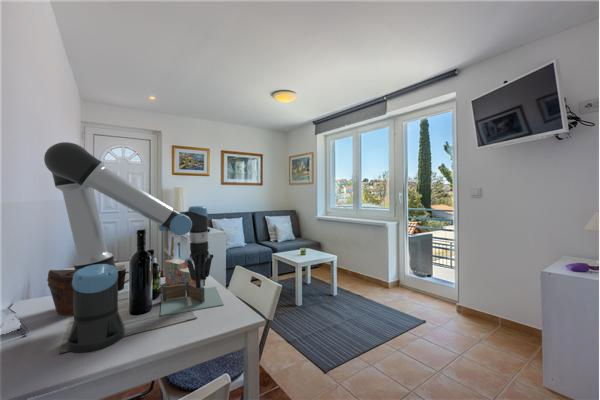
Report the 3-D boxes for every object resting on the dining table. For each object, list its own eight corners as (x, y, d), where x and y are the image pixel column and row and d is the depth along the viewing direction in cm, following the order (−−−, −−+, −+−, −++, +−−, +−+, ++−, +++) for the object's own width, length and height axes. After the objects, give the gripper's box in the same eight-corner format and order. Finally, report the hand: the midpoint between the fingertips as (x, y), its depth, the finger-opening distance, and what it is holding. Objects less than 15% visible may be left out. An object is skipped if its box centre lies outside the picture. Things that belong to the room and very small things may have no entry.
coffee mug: (101, 290, 135) (101, 270, 134) (119, 285, 142) (119, 266, 142) (116, 294, 130) (115, 273, 129) (134, 288, 137) (133, 268, 137)
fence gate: (201, 302, 118) (201, 288, 117) (188, 296, 124) (188, 283, 124) (204, 301, 119) (204, 288, 118) (191, 295, 125) (191, 282, 125)
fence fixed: (190, 297, 125) (190, 282, 125) (162, 301, 120) (162, 285, 120) (190, 296, 127) (190, 280, 126) (162, 300, 122) (162, 284, 122)
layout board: (223, 305, 117) (223, 304, 117) (160, 316, 106) (160, 315, 106) (215, 287, 138) (215, 286, 138) (162, 295, 128) (162, 294, 128)
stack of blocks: (200, 287, 138) (199, 263, 138) (189, 291, 133) (188, 266, 133) (175, 280, 151) (175, 258, 150) (164, 283, 145) (164, 260, 145)
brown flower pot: (117, 299, 123) (115, 259, 123) (77, 320, 103) (74, 273, 103) (81, 298, 125) (79, 259, 124) (34, 319, 105) (32, 273, 104)
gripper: (190, 245, 113) (192, 301, 114) (216, 239, 123) (218, 291, 124) (180, 242, 117) (182, 297, 118) (206, 238, 127) (208, 288, 129)
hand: (200, 294), depth 121 cm, fingers closed
